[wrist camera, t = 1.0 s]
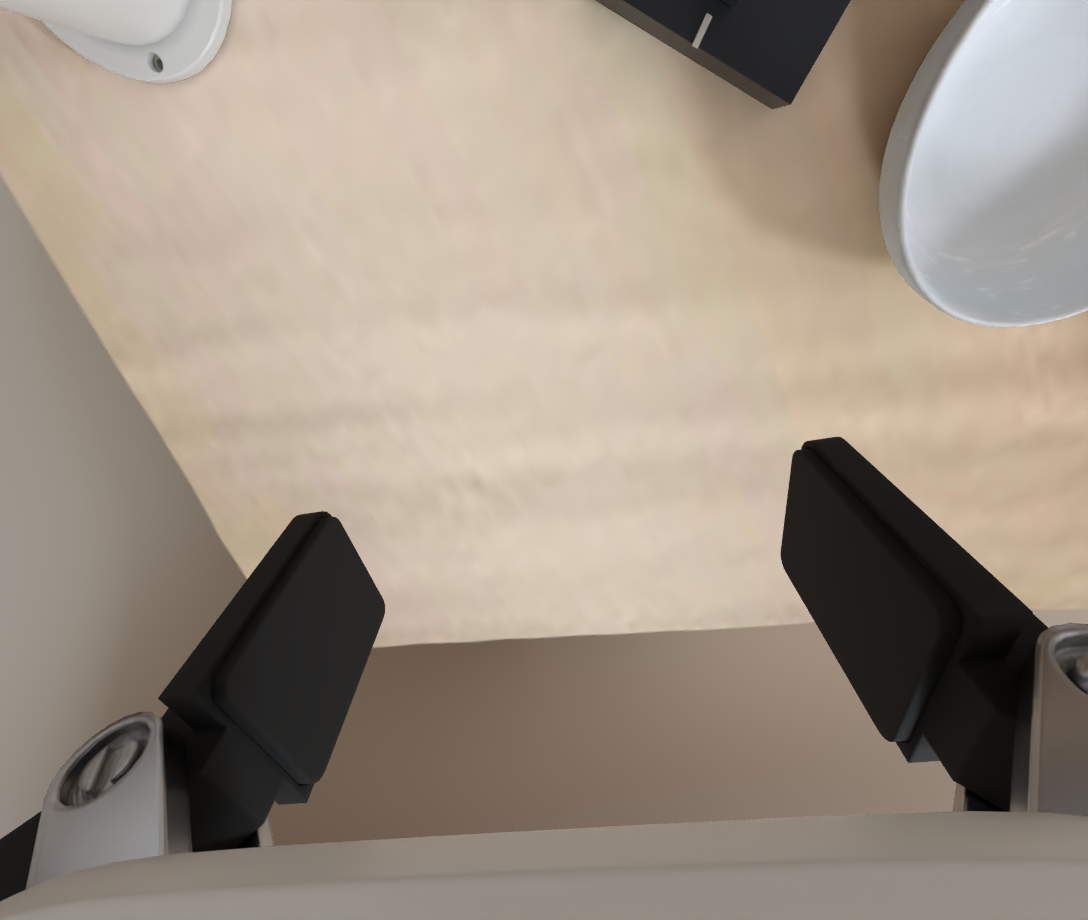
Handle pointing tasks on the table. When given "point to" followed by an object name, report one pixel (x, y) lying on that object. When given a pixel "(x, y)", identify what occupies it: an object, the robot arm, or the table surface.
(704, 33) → the tap console
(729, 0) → the rotary selector knob
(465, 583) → the table surface
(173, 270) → the table surface
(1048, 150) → the serving bowl
